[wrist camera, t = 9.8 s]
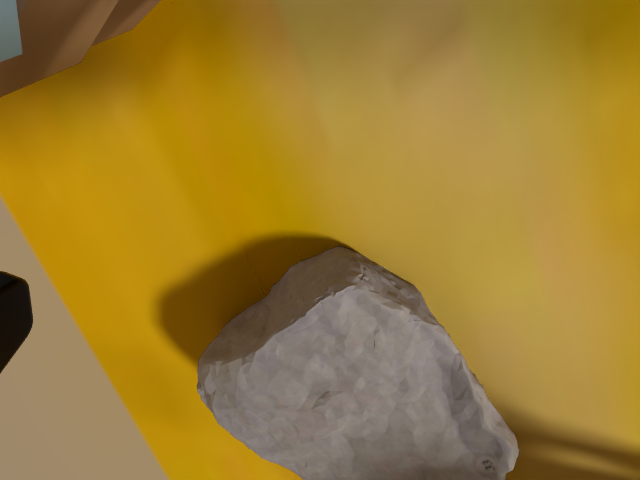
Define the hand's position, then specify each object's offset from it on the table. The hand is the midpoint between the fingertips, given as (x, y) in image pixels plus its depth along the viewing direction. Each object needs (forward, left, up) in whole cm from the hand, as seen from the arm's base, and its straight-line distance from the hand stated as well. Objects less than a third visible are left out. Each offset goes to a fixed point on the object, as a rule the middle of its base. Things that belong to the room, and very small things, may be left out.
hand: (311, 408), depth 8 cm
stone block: (+9, +8, -14) cm, 18 cm away
